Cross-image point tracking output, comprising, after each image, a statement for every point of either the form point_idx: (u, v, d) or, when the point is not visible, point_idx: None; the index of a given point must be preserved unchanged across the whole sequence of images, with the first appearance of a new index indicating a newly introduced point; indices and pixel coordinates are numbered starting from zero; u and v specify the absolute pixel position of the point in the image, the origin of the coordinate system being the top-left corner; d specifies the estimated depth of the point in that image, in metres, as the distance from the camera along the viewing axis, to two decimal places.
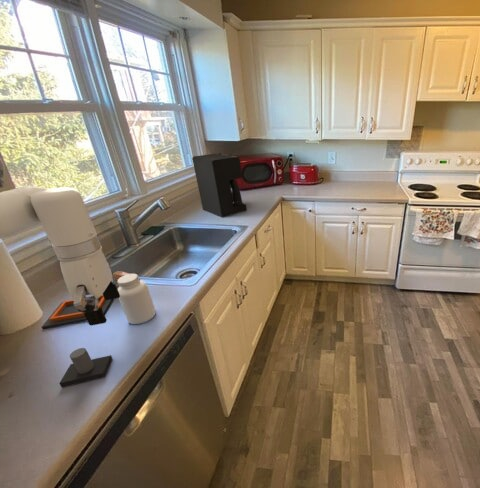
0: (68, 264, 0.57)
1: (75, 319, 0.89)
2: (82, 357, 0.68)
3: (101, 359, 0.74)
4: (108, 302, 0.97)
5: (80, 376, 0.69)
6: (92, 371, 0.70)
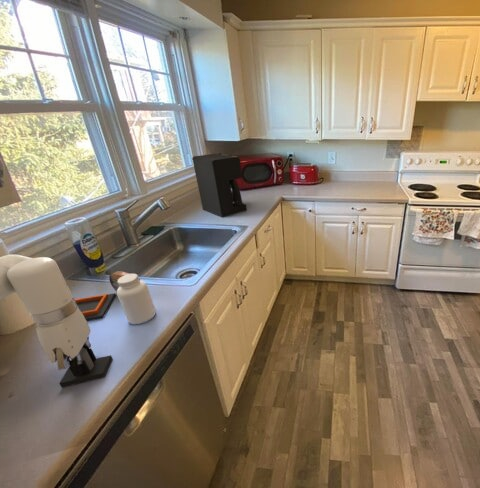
0: (43, 330, 0.60)
1: None
2: (82, 357, 0.68)
3: (101, 359, 0.74)
4: (108, 302, 0.97)
5: (80, 376, 0.69)
6: (92, 371, 0.70)
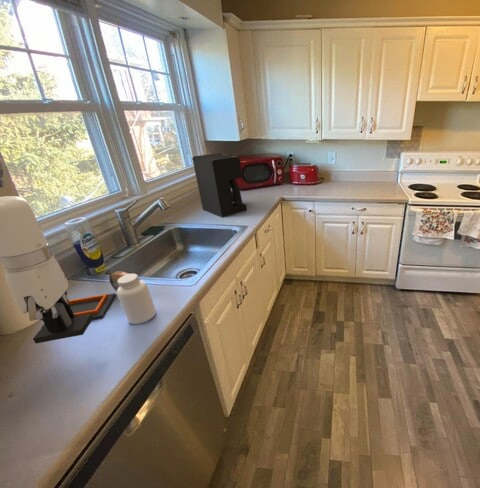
0: (13, 275, 0.55)
1: None
2: (58, 311, 0.64)
3: (80, 317, 0.69)
4: (108, 302, 0.97)
5: (56, 332, 0.64)
6: (70, 328, 0.66)
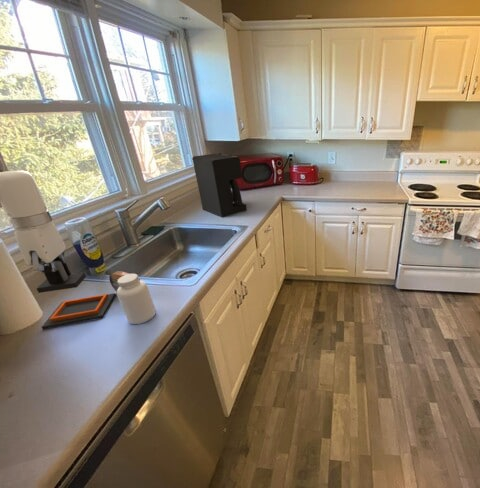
0: (20, 232, 0.69)
1: (75, 319, 0.89)
2: (57, 267, 0.78)
3: (75, 275, 0.83)
4: (108, 302, 0.97)
5: (55, 284, 0.79)
6: (66, 281, 0.80)
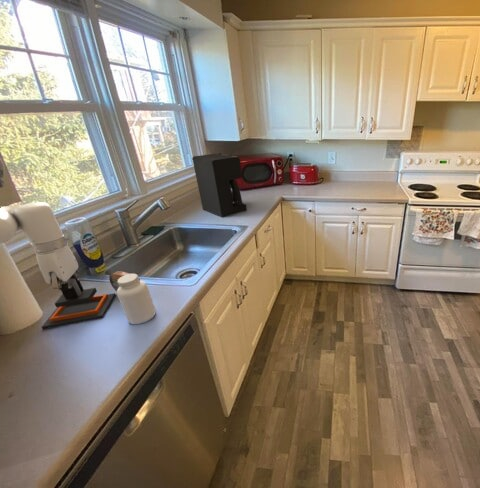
0: (41, 256, 0.80)
1: (75, 319, 0.89)
2: (72, 284, 0.89)
3: (87, 290, 0.94)
4: (108, 302, 0.97)
5: (70, 299, 0.89)
6: (80, 296, 0.91)
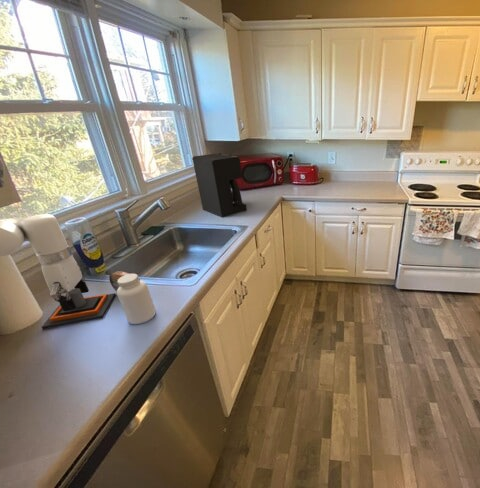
0: (47, 267, 0.81)
1: (75, 319, 0.89)
2: (77, 294, 0.90)
3: (91, 299, 0.96)
4: (108, 302, 0.97)
5: (75, 309, 0.91)
6: (85, 306, 0.92)
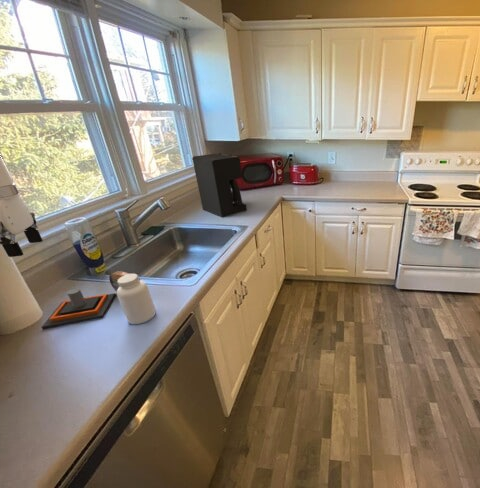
0: None
1: (75, 319, 0.89)
2: (77, 294, 0.90)
3: (91, 299, 0.96)
4: (108, 302, 0.97)
5: (75, 309, 0.91)
6: (85, 306, 0.92)
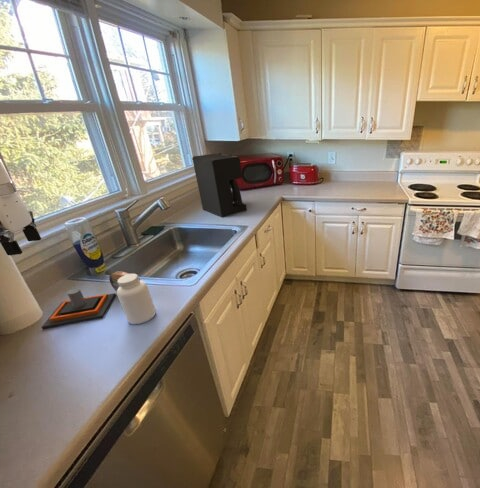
0: None
1: (75, 319, 0.89)
2: (77, 294, 0.90)
3: (91, 299, 0.96)
4: (108, 302, 0.97)
5: (75, 309, 0.91)
6: (85, 306, 0.92)
